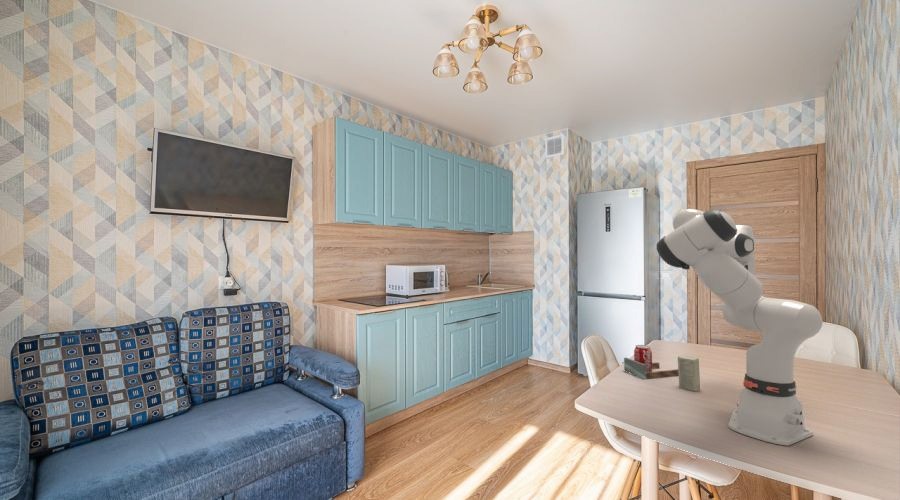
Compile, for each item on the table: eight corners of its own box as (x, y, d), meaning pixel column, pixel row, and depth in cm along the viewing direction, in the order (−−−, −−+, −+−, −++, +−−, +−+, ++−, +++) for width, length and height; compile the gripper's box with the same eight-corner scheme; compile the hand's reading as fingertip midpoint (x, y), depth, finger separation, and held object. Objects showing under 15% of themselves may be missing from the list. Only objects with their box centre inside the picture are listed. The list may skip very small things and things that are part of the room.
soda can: (654, 373, 163) (654, 346, 163) (648, 377, 158) (648, 349, 158) (637, 369, 168) (637, 343, 168) (631, 373, 163) (631, 346, 163)
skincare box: (700, 389, 143) (699, 358, 143) (695, 391, 140) (695, 360, 140) (682, 384, 148) (682, 354, 148) (677, 387, 145) (677, 356, 146)
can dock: (657, 367, 171) (657, 354, 171) (679, 375, 159) (679, 361, 159) (624, 370, 166) (624, 357, 167) (644, 379, 155) (643, 365, 155)
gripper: (740, 265, 152) (740, 298, 152) (721, 266, 141) (722, 302, 140) (759, 265, 147) (760, 300, 147) (741, 267, 135) (742, 304, 135)
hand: (741, 301), depth 144 cm, fingers closed
